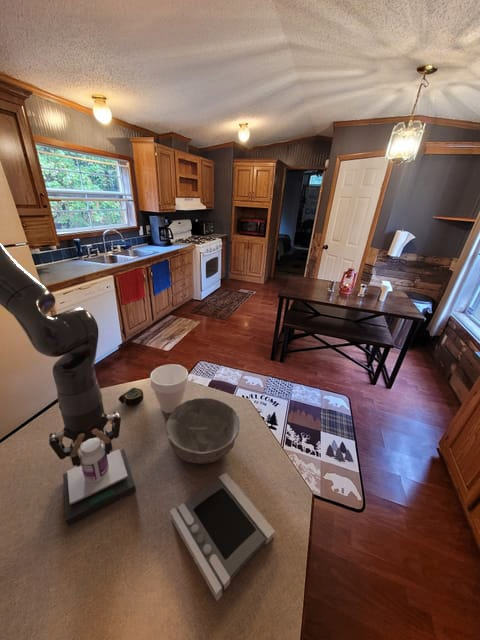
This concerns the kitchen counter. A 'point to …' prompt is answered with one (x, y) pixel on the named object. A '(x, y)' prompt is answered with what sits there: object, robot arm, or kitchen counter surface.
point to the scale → (96, 488)
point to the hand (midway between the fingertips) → (93, 457)
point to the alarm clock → (221, 531)
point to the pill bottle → (94, 460)
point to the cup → (169, 385)
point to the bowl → (202, 430)
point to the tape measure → (132, 397)
